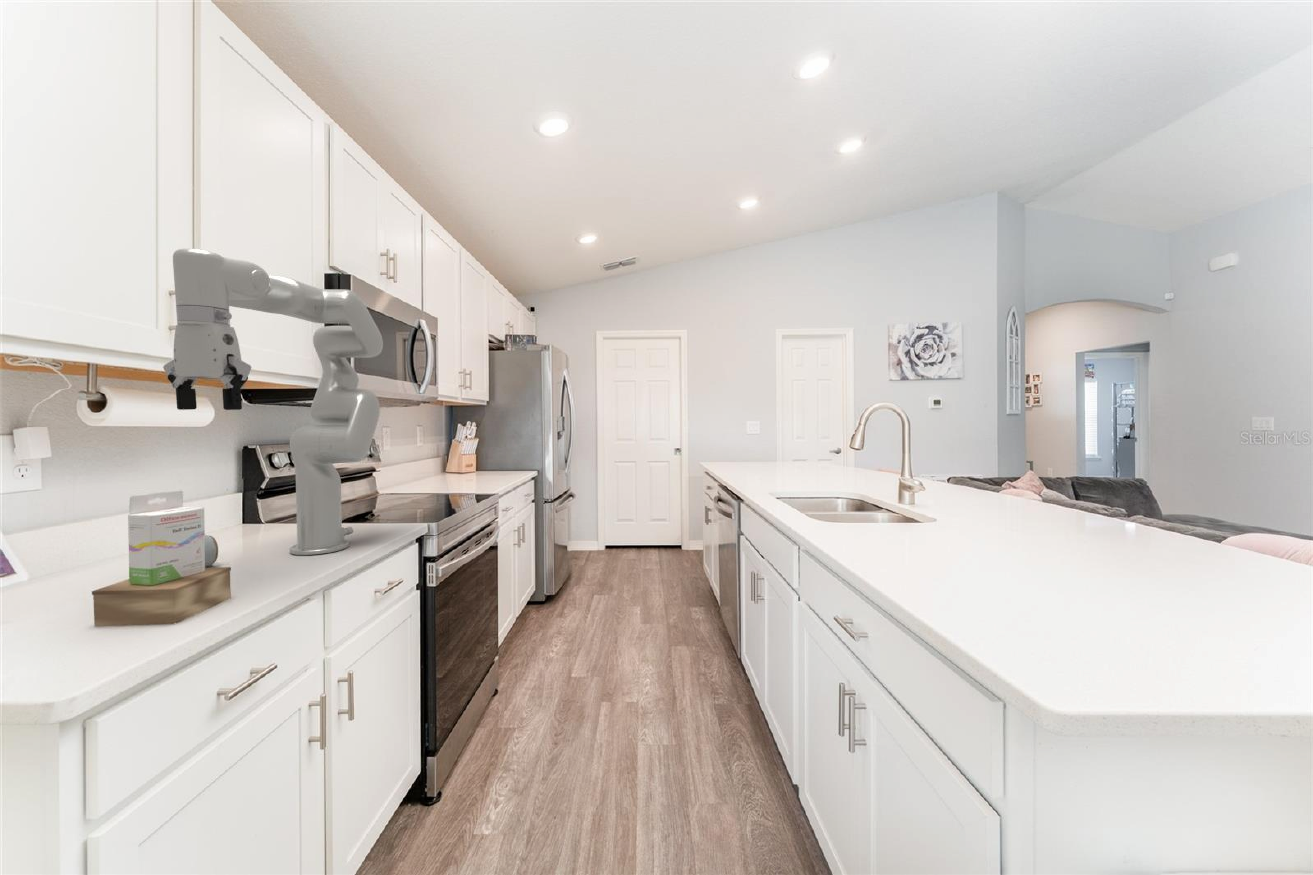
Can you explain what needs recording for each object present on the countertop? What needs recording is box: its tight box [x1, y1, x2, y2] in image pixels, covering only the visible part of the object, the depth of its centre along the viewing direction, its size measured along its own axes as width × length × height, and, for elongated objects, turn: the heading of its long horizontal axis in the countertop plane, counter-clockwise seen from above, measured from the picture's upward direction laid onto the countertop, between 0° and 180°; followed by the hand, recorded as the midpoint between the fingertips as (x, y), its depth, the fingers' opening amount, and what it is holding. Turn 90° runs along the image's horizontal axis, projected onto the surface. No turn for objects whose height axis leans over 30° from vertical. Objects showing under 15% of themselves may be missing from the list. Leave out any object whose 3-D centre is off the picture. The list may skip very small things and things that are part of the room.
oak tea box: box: [91, 566, 232, 627], centre depth 88 cm, size 12×12×6 cm
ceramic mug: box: [205, 534, 219, 568], centre depth 112 cm, size 11×8×8 cm
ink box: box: [127, 489, 206, 585], centre depth 88 cm, size 9×5×15 cm, turn 169°
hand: (209, 409), depth 97 cm, fingers open, 9 cm apart
